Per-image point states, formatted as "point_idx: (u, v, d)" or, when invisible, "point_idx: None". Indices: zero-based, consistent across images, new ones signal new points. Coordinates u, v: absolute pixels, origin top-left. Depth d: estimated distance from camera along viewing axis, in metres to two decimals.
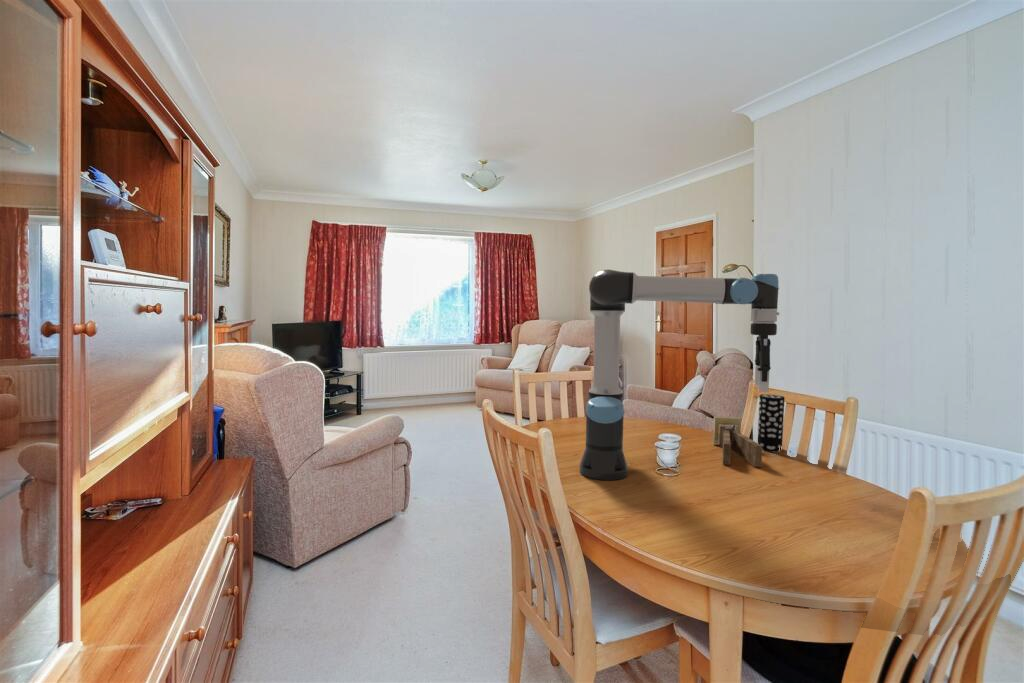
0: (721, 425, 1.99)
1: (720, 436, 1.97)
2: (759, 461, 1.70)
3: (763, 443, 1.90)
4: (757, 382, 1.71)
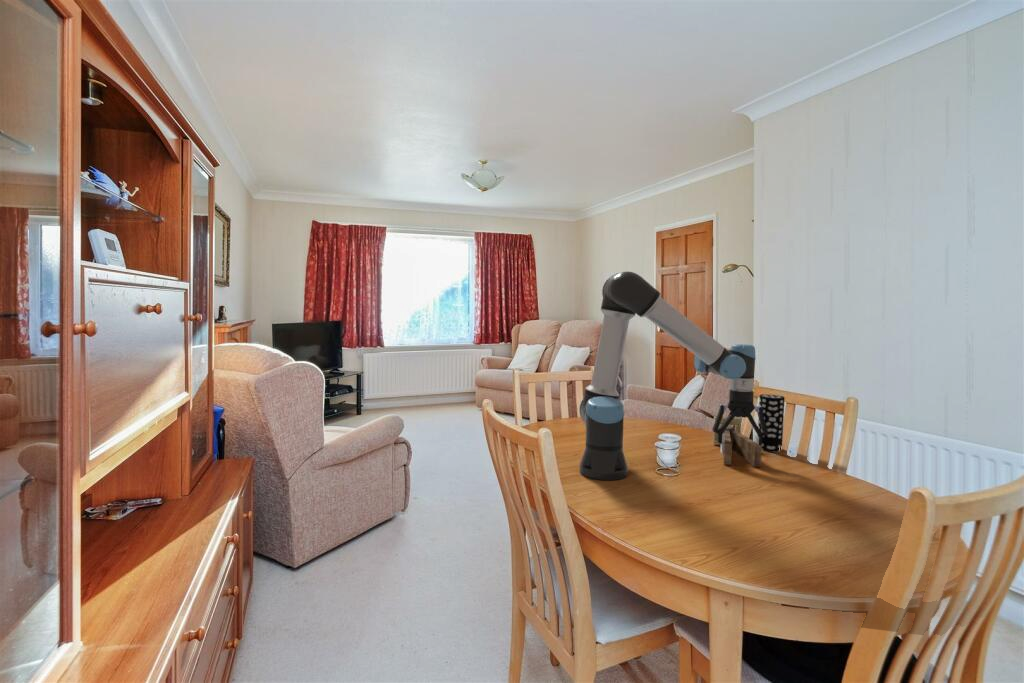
0: None
1: None
2: (758, 461, 1.70)
3: (763, 443, 1.90)
4: None
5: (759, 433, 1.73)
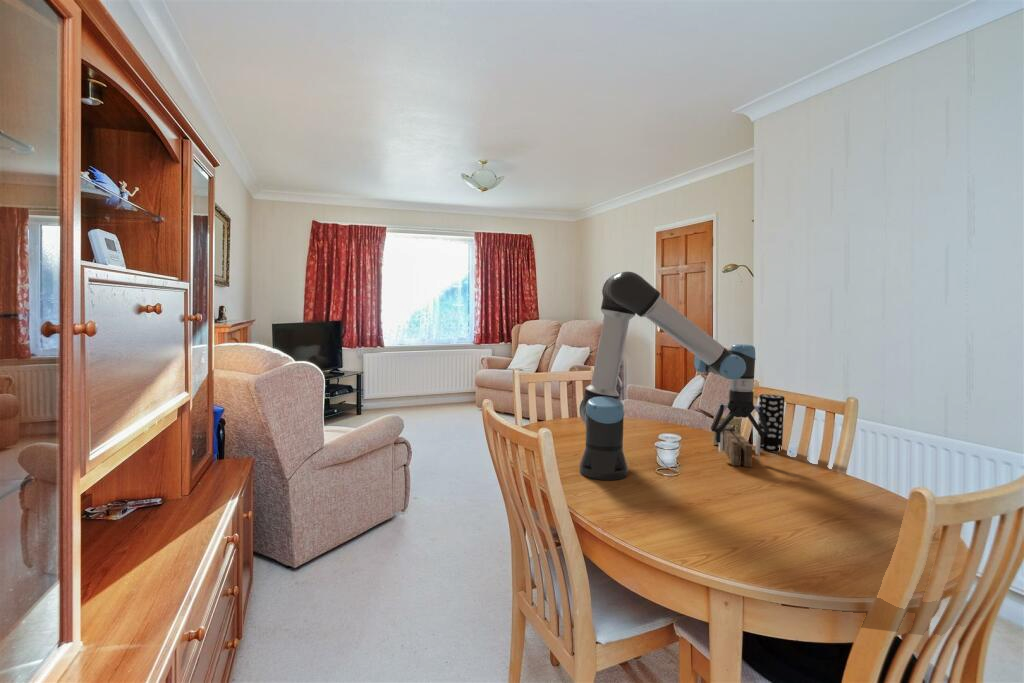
0: None
1: None
2: (749, 461, 1.70)
3: (763, 443, 1.90)
4: (755, 451, 1.75)
5: (760, 432, 1.73)
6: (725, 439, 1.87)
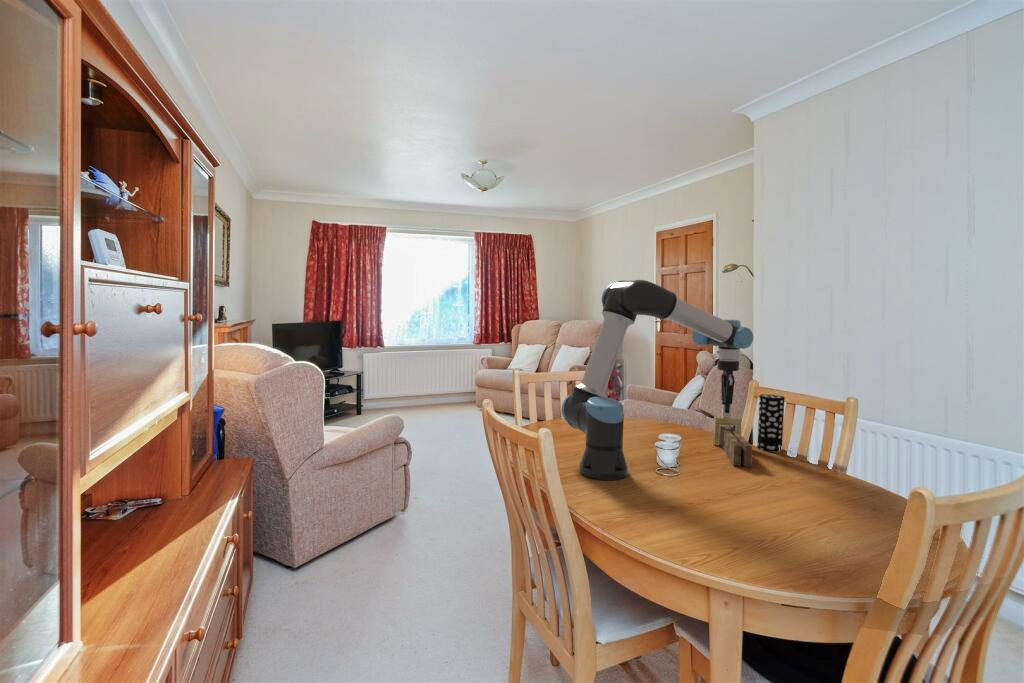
0: (721, 425, 1.99)
1: (720, 436, 1.97)
2: (749, 461, 1.70)
3: (763, 443, 1.90)
4: None
5: (724, 400, 1.96)
6: (725, 439, 1.87)
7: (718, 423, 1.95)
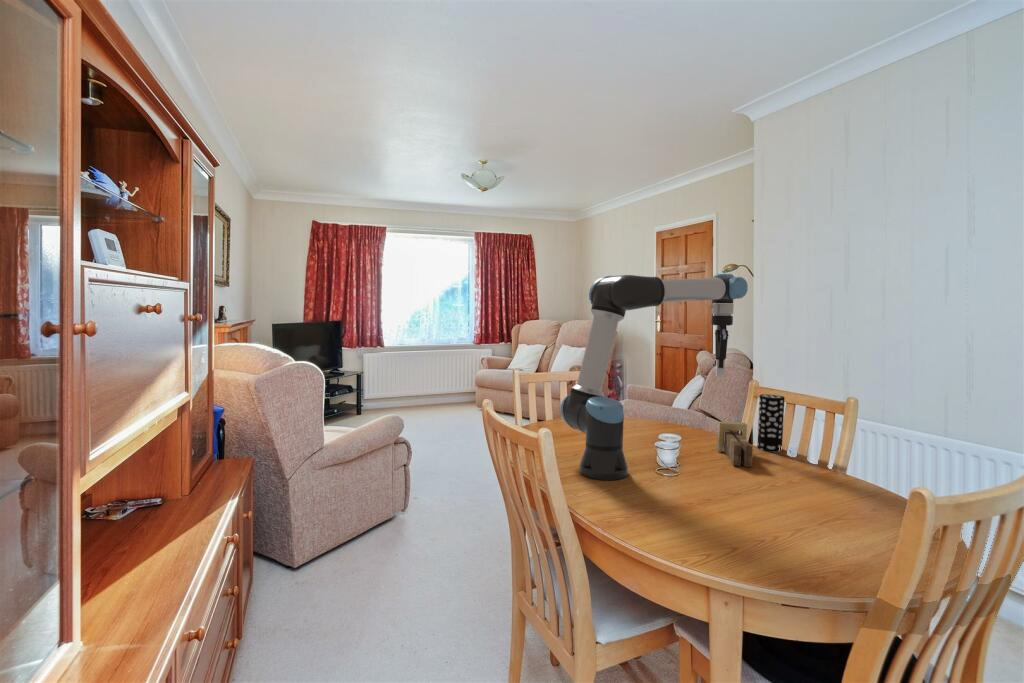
0: None
1: None
2: (749, 461, 1.70)
3: (763, 443, 1.90)
4: None
5: (717, 356, 1.95)
6: (725, 439, 1.87)
7: (722, 428, 1.87)
